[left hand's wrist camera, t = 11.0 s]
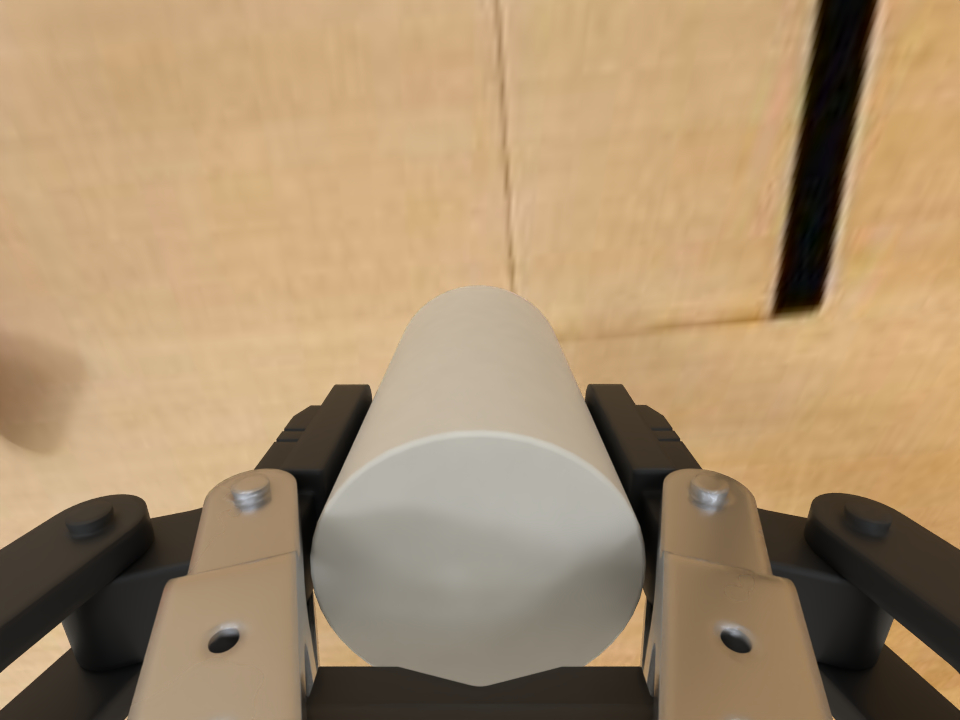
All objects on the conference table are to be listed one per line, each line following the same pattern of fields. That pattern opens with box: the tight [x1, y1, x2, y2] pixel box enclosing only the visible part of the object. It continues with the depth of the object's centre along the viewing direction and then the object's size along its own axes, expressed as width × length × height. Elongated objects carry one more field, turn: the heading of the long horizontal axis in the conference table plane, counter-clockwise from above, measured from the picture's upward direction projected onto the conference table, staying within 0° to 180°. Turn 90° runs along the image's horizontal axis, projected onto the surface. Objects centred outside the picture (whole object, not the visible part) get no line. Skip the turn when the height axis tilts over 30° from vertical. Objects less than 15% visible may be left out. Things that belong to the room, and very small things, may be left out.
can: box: [310, 285, 646, 686], centre depth 11 cm, size 5×5×8 cm
